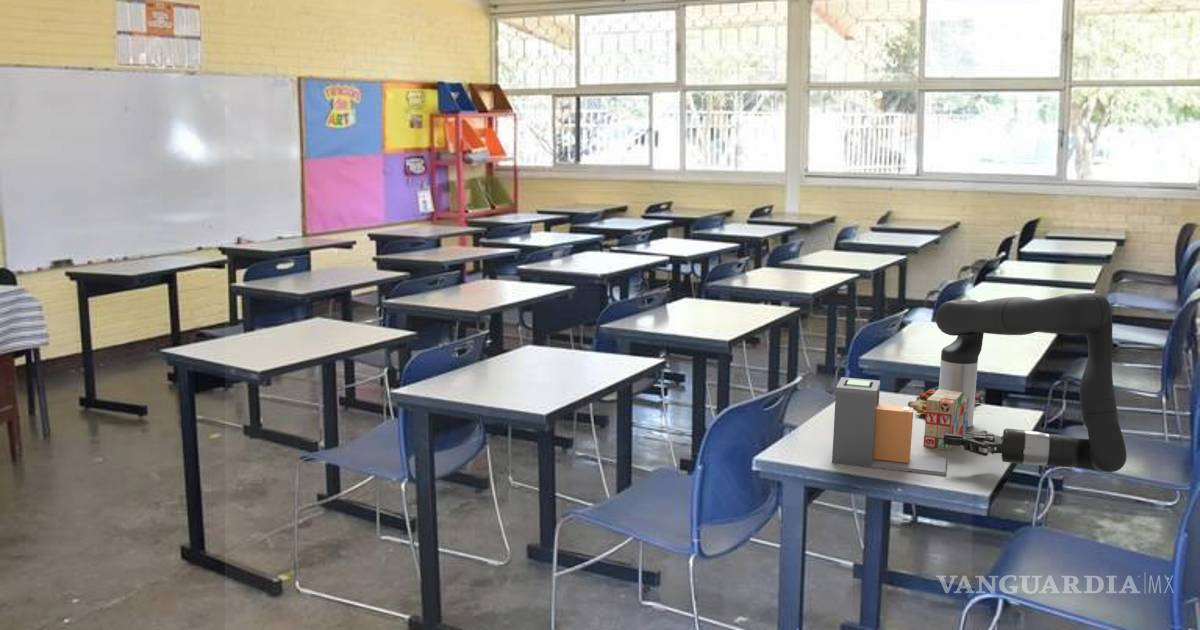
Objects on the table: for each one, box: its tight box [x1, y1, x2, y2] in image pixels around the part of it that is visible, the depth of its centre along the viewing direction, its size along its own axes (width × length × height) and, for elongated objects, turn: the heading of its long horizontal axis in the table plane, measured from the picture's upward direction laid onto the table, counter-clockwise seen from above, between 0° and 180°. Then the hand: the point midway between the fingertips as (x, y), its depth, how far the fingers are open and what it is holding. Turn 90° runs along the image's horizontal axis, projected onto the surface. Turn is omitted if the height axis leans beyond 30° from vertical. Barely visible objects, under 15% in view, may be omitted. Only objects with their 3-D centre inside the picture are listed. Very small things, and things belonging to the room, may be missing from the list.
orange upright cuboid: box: [873, 403, 914, 463], centre depth 239 cm, size 4×8×12 cm, turn 71°
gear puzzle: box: [907, 386, 984, 416], centre depth 291 cm, size 31×16×4 cm, turn 144°
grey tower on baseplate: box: [831, 376, 947, 476], centre depth 239 cm, size 11×25×18 cm, turn 71°
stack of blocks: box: [922, 389, 969, 451], centre depth 260 cm, size 21×6×12 cm, turn 149°
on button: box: [846, 379, 871, 388], centre depth 240 cm, size 5×5×5 cm
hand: (943, 438), depth 235 cm, fingers closed
